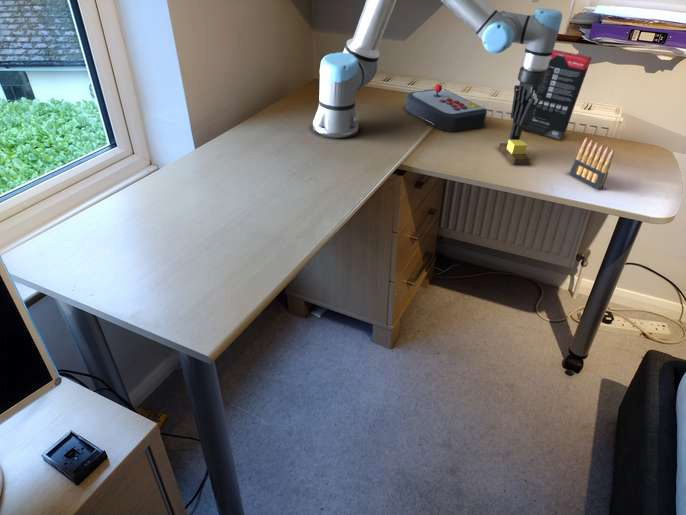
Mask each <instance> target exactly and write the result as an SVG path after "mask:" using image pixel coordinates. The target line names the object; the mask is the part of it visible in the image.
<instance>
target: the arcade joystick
mask: <svg viewBox="0 0 686 515" xmlns="http://www.w3.org/2000/svg"><path fill="white" fill-rule="evenodd" d="M404 109H405V110H406V111H407V112H408V113H410V114H412V115H413V116H415V117H417V118H418V119H420V120H422V121H424V122H425V123H427V124H429V125H431V126H432V127H433V128H436V129H440V130H443V131H447V132H459V131H460V132H461V131H466V130H472V129H479V128H484V125H485V121H486V116H487V113H488V110H487V109H486V108H485V107H483V106H481V105H478V104H476V103H474V102H472V101H470V100H468V99H466V98H464V97H462V96H460V95H458V94H456V93H454V92H451V91H450V90H447V89H445V88H443V86H442V84H440V83H439V84H435V85H434V87H433V88H431V89H430V88H429V89H424V90H418V91H417V90H416V91H411V92H408V93H407V95H406V100H405V108H404ZM419 116H420V117H419ZM421 117H422V118H421ZM423 118H424V119H423ZM425 119H426V120H428V121H430V122H432V123H433V124H434V125H433V124H432V123H430V122H428V121H426V120H425Z"/></svg>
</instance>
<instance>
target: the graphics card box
mask: <svg viewBox="0 0 686 515" xmlns="http://www.w3.org/2000/svg"><path fill="white" fill-rule="evenodd" d="M591 60H592V57H591V56H586V55H582V54H577V53H573V52H568V51H564V50H557V49H553V52H552V55H551V59H550V62H549V65H548V68H547V69H546V71H547V73H546V76H545V80H544V83H543V84H540V85H539V86H538V92H537V94H536V95H537V98H540V102H539V104H538V105H537V106H536V109H535V111H534V113H533V115H532V118H531V120H530V122H529V124H528V126H523V129H522V131H527V132H530V133H535V134H537V135H541V136H543V137H544V136H545V137H548V138H552V139H555V140H559V141H560V140H562V138H563V137H564V136H565V135H566V132H567V129H568V127H569V123H570V121H571V117H572V115H573V113H574V110H575V106H576V104H577V101H578V98H579V95H580V92H581V89H582V87H583V83H584V80H585V78H586V75H587V72H588V69H589V67H590V64H591Z"/></svg>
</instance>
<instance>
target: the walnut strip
mask: <svg viewBox="0 0 686 515" xmlns="http://www.w3.org/2000/svg"><path fill="white" fill-rule="evenodd" d="M507 145H508V142H500V143H499V145H498V150H499V151H500V152H501V153H502V155H504V157H505V158H506V159H507V160H508V161H509V162H510V163H511V164H512V165H513V166H529V165H530V161H531V158H530V157H529V156H528V155H527V154H526V152H525V153H524V154H511V153H510V152H509V151H508V149H507Z"/></svg>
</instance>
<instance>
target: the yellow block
mask: <svg viewBox="0 0 686 515" xmlns="http://www.w3.org/2000/svg"><path fill="white" fill-rule="evenodd" d="M507 143H508V145H507V149H508V151H509V152H510V153H511V154H524V153H525V154H526V150H527V148H528V144H527V143H526V142H524V141H523V140H522V139H519V140H509V139H508V142H507Z"/></svg>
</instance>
